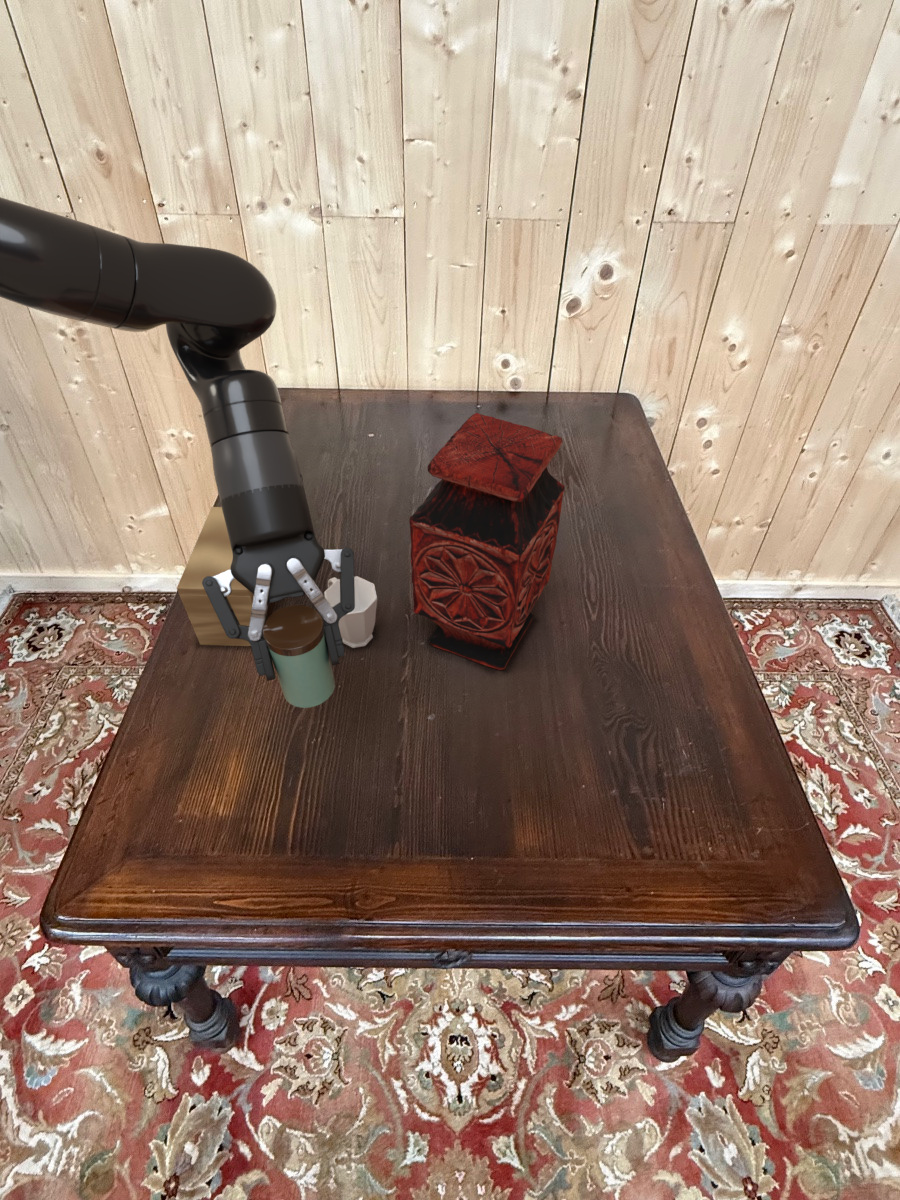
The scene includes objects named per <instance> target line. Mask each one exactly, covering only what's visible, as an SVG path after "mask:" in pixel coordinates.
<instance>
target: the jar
mask: <svg viewBox="0 0 900 1200" xmlns="http://www.w3.org/2000/svg"><path fill="white" fill-rule="evenodd" d="M263 635H264V638H265V642H266V644H267V646H268V649H269V652H270V655H271V659H272V663H273V667H274V671H275V675H276V678H277V680H278V683H279V684H278V685H279V686H280V690H281V693H282V696H283V698H284V699H285V701H286V702H287V703H289V704H290V705H291V706H293V707H296V708H301V709H309V708H314V707H317V706H319V705H321V704H324V703H325V702H326V701H327V700H328V699H329V698H330V697H331V696H332V695H333V694H334V691H335V688H336V679H335V674H334V670H333V665H332V663H331V659H330V655H329V651H328V646H327V642H326V637H325V632H324V620H323V617H322V616H321V614H320V613H319V612H318V610H317V609H316V608H315V609H314V608H313V607H311V606H308V605H302V604H292V605H287V606H283V607H281V608H279V609H277V610H275V611H274V612H272V613H271V614H270V615H268V617H267V618H266V620H265V624H264V627H263Z"/></svg>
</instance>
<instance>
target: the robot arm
mask: <svg viewBox="0 0 900 1200" xmlns="http://www.w3.org/2000/svg"><path fill="white" fill-rule="evenodd" d="M0 298H1V299H4V300H7V301H9V302H13V303H16V304H18V305H21V306H24V307H28V308H30V309H33V310H37V311H40V312H43V313H47V314H51V315H54V316H58V317H62V318H64V319H70V320H74V321H79V322H83V323H88V324H91V325H92V324H93V325H97V326H101V327H106V328H109V329H115V330H119V331H124V332H131V333H142V332H147V331H150V330H152V329H155V328H157V327H160V326H163V325H165V331H166V335H167V338H168V341H169V344H170V347H171V349H172V351H173V354H174V355H175V357H176V359H177V361H178V363H179V366H180V368H181V370H182V371H183V374H184V376H185V378H186V381H188V384H189V386H190V388H191V389H192V391H193V393H194V395H195V396H196V398H197V400H198V401H199V403H200V407H201V412H202V416H203V422H204V426H205V430H206V433H207V438H208V443H209V447H210V451H211V459H212V470H213V475H214V476H213V477H214V481H215V484H216V485H215V486H216V490H217V495H218V497H219V501H220V507H222V511H223V515H224V519H225V523H226V527H227V532H228V536H229V540H230V544H231V548H232V553H233V560H232V564H231V568H230V569H229V570H227V571H225V572H222V573H220V574H218V575H215V576H213V577H211V576H207V577H205V578H204V579H203V581H202V585H203V587H204V589H205V591H206V593H207V596H208V598H209V600H210V602H211V604H212V606H213V608H214V610H215V612H216V614H217V616H218V619H219V621H220V623H221V625H222V627H223V629H224V631H225V633H226V635H227V636H228V637H229V638H231V639H234V638H235V639H243V640H246V641H248V642H249V643H250V645H251V646H250V649H251V653H252V657H253V661H254V666H255V670H256V672H257V674H258V675H259V676H260V677H263V676H265V678H266V681H267V682H269V681H273V680H276V678H277V675H276V671H275V668H274V665H273V662H272V659H271V655H270V652H269V649H268V646H267V644H266V642H265V639H264V635H263V627H264V624H265V622H266V620H267V616H268V615H267V614H268V611H269V610H268V609H269V605H270V604H272V603H276V602H280V601H282V600H284V599H286V598H299V597H304V596H305V595H306V596H307V597H308V599H309V601H310V602H311V603H312V605H313V606H314V608H315V610H316V611H317V612H318V613H319V614H320V616H321V618H322V621H323V625H324V632H325V637H326V642H327V646H328V651H329V655H330V660H331V665H332V666H337V665H340V659H339V658H342V657H344V656H345V647H344V643H343V640H342V638H341V634H340V629H339V620H340V619H341V618H342V617H343V616H344V615H346V614H348V613H349V612H352V611H353V610H354V608H355V586H354V577H355V552H354V551H353V549H352V548H351V547H344V548H340V549H339V548H338V549H333V548H332V549H327V548H326V549H324V547H323V546H322V545H321V544H320V543H319V541H318V539H317V537H316V533H315V529H314V525H313V520H312V516H311V512H310V508H309V504H308V503H309V502H308V499H307V495H306V491H305V485H304V479H303V475H302V473H301V469H300V465H299V462H298V457H297V455H296V451H295V449H294V446H293V444H292V441H291V437H290V435H289V434H290V433H289V429H288V424H287V421H286V416H285V412H284V407H283V403H282V399H281V395H280V392H279V388H278V385H277V384H276V382H275V380H274V379H273V378H272V377H271V376H270V375H269V374H268V373H266V372H264V371H261V370H257V369H250V368H249V369H247V368H246V367H245V365H244V362H243V360H242V356H241V350H242V349H244V348H245V347H246V346H248V345H249V344H251V343H252V342H254V341H255V340H257V339H258V338H260V337H261V336H262V335H264V334H265V333H266V332H267V331H268V330H269V328H270V327H271V326H272V324H273V322H274V321H275V318H276V314H277V298H276V294H275V291H274V289H273V286H272V285H271V283H270V281H269V280H268V279H267V277H266V275H264V274H263V272H261V270H259V269H258V268H257V267H256V266H255V265H254V264H252V263H251V262H250V261H248V260H247V259H244V258H243V257H241V256H239V255H237V254H235V253H231V252H229V251H226V250H223V249H217V248H211V247H206V246H205V247H203V246H195V245H185V244H176V243H167V242H165V243H163V242H144V241H139V240H136V239H133V238H130V237H128V236H125V235H122V234H119V233H116V232H113V231H110V230H107V229H104V228H101V227H98V226H95V225H92V224H90V223H86V222H83V221H80V220H77V219H73V218H71V217H67V216H64V215H60V214H57V213H53V212H51V211H47V210H44V209H41V208H38V207H34V206H31V205H27V204H24V203H21V202H18V201H15V200H11V199H8V198H4V197H1V196H0ZM324 561H327V562H329V563H330V567H331V569H332V570H333V571H334V572H336V573H339V579H340V603H338V604H337V605H335V606H333V607H331V605H330V604H329V602H328V601H327V600H326V598H325V594H324V593H323V592H322V591H321V589H320V587H318V585H317V584H316V582H315V581H316V579H317V577H318V575H319V572H320V570H321V568H322V566H323V563H324ZM234 579H236V580H237V581H238V582H240V583H241V584H242V585H243V586H244V587H245V588H247V589H248V590H249V591H250V592H251V593H253V594H254V598H253V604H252V610H251V618H250V624H249V626H246V625H240V624H239V621H238V619H237V617H236V615H235V613H234V611H233V609H232V607H231V605H230V603H229V601H228V598H227V596H229V595H230V594H231V592H232V588H231V583H232V581H233V580H234Z"/></svg>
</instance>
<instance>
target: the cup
mask: <svg viewBox="0 0 900 1200" xmlns="http://www.w3.org/2000/svg"><path fill="white" fill-rule="evenodd" d="M354 586H355V608H354V610H353V611H352V612H349V613H348V614H346V615H344V616H343V617H342V618H341V619H340V620H339V629H340V634H341V638H342V642H343V645H346V646H348V647H349V648H352V649H355V648H361V647H366V646H367V645H368V644H369V643H370V641H372V639H373V638H374V636H373V632H374V629H375V626H376V624H375V623H376V617H377V616H376V614H377V606H378V605H377V604H378V596H377V591H376V586H375V583H373V582H371V581H369V580H366V579H364V578H363V577H360V576H357V575H355V576H354ZM323 595H324V597H325V598H326V600H327V601H328V602H329V604H330V605H331V607H333V606H335V605H337V604H338V603H340V578H337V577H335V576H334V577H331V578H330V579H328V580H327V589H325V591H324V592H323Z"/></svg>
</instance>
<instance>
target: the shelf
mask: <svg viewBox="0 0 900 1200" xmlns="http://www.w3.org/2000/svg"><path fill="white" fill-rule="evenodd" d="M232 560H233V553H232V548H231V544H230V540H229V536H228V532H227V527H226V523H225V519H224V515H223V511H222V506H211V507H210V510H209V512H208V514H207V517H206V518H205V521H204V524H203V525H202V528H201V530H200V533H199V535H198V537H197V540H196V542H195V543H194V546H193V549H192V552H191V554H190V556H189V558H188V561H187V562H186V566H185V567H184V570H183V573H182V575H181V577H180V580H179V582H178V584H177V586H176V591H177V593H178V595H179V598H180V600H181V602H182V605H183V607H184V610H185V612H186V614H187V617H188V619H189V621H190V623H191V627H192V629H193V631H194V633H195V635H196V638H197V641H198V642H199V646H225V647H227V646H229V647H230V646H231V647H251V645H250V643H249V642H248V641H246V640H243V639H235V638H234V639H231V638H229V637H228V636H227V635H226V633H225V631H224V629H223V627H222V625H221V623H220V621H219V619H218V616H217V614H216V612H215V610H214V608H213V606H212V604H211V602H210V600H209V598H208V596H207V593H206V591H205V589H204V587H203V585H202V581H203V579H204V578H205V577H207V576H211V577H213V576H215V575H218V574H220V573H222V572H225V571H227V570H229V569H230V568H231V564H232ZM231 588H232V592H231V594H230V595H229V596H227V598H228V601H229V603H230V605H231V607H232V609H233V611H234V613H235V615H236V617H237V619H238V621H239V624H240V625H246V626H249V624H250V618H251V610H252V604H253V598H254V594H253V593H251V592H250V591H249V590H248V589H247V588H245V587H244V586H243V585H242V584H241V583H240V582H238V581H237V580H236V579H234V580H233V581H232V583H231ZM264 639H265V638H264Z"/></svg>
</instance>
